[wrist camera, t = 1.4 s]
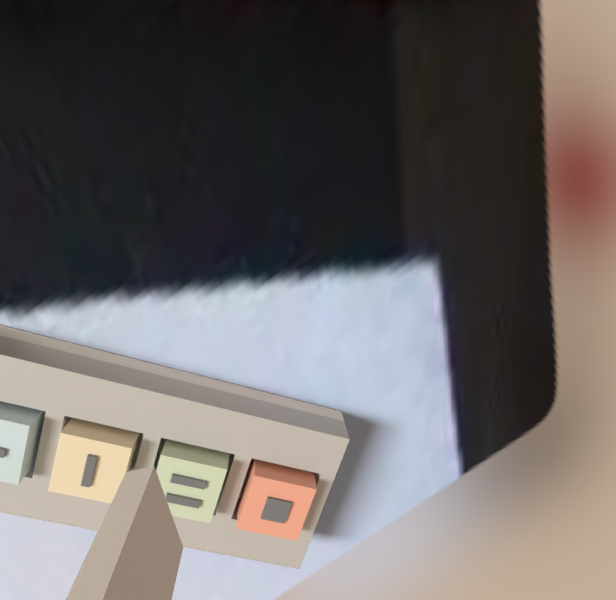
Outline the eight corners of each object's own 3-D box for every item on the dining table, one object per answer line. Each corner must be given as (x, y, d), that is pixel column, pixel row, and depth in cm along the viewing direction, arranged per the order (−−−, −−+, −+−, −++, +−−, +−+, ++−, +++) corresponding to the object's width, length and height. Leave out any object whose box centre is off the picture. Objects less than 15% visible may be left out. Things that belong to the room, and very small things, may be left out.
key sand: (63, 468, 33) (46, 492, 31) (75, 413, 32) (58, 434, 29) (127, 482, 34) (116, 506, 31) (141, 428, 33) (131, 450, 30)
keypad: (-36, 462, 35) (-73, 498, 32) (-14, 321, 33) (-52, 342, 29) (296, 530, 40) (299, 568, 36) (341, 411, 37) (349, 439, 33)
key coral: (238, 505, 35) (236, 530, 33) (255, 454, 34) (254, 477, 32) (295, 517, 36) (297, 543, 33) (313, 468, 35) (317, 491, 32)
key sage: (153, 487, 34) (144, 512, 32) (167, 434, 33) (159, 456, 31) (213, 500, 35) (209, 525, 32) (230, 449, 34) (227, 471, 31)
